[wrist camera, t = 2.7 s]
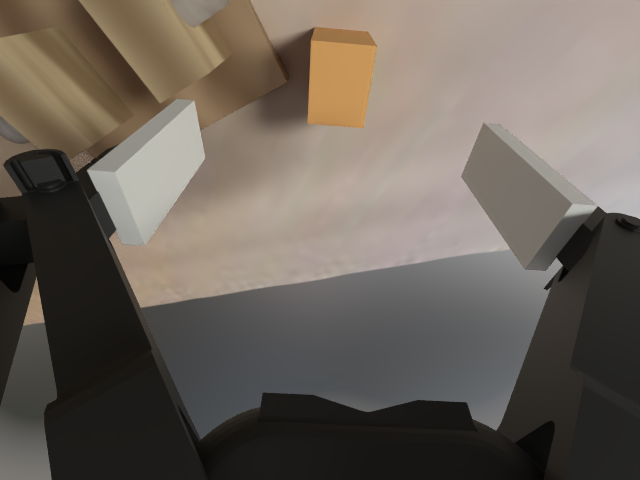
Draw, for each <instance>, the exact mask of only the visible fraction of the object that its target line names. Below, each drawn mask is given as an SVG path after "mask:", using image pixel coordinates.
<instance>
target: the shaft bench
mask: <svg viewBox="0 0 640 480" xmlns="http://www.w3.org/2000/svg"><path fill="white" fill-rule="evenodd" d="M288 79H289V78H288V76H287V74H286V72H285V70H284V68H283V66H282V64H281V62H280V60H279V58H278V56H277V54H276V52H275V50H274V48H273V46H272V44H271V42H270V40H269V38H268V36H267V34H266V32H265V30H264V28H263V26H262V24H261V22H260V20H259V18H258V16H257V14H256V12H255V10H254V8H253V6H252V4H251V2H250V0H0V135H1V136H3V137H4V138H6V139H7V140H9V141H12V142H15V143H20V144H24V143H28V142H31V143H32V144H33V145H34V146H36V147H37V148H38V149H39V150H40V149H56V150H61V151H63V152H64V153H65V154H66V155H67V157H68V159H71V158H73V157H74V156H76V155H77V154H79V153H81V152H82V151H84V150H87V151H88V152H89V153H90V154H91V155H92V156H93V157H94V158H96V157H97V158H98V156H99V155H100V154H101V153H103V152H104V151H105V150H106V149H109V148H111V147H114V146H116V145H119V144H121V143H122V142H123V141H124V140H126V139H127V138H128V137H129V136H131V135H132V134H133V133H134V132H136V131H137V130H138V129H139V128H141V127H142V126H143V125H145V124H146V123H147V122H148V121H150V120H151V119H152V118H153V117H155V116H156V115H157V114H158V113H160V112H161V111H162V110H164V109H165V108H166V107H167V106H169V105H170V104H171V103H172V102H174V101H175V100H176V99H184V100H194V101H195V106H196V112H197V117H198V122H199V127H200V130H201V129H203V128H205V127H207V126H209V125H210V124H212V123H214V122H216V121H218V120H220V119H221V118H223V117H225V116H227V115H229V114H231V113H232V112H234V111H236V110H238V109H240V108H241V107H243V106H245V105H247V104H249V103H251V102H252V101H254V100H256V99H258V98H260V97H262V96H263V95H265V94H267V93H269V92H271V91H272V90H274V89H276V88H278V87H280V86H282V85H283V84H285V83H287V82H288Z"/></svg>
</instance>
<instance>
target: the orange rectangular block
mask: <svg viewBox="0 0 640 480" xmlns="http://www.w3.org/2000/svg"><path fill="white" fill-rule="evenodd" d="M376 49H377V45H376V44H375V42H374V41H373V39H372V37H371V36H370V34H369V33H368V32H365V31H353V30H342V29H330V28H319V27H315V29H314V32H313V36H312V39H311V54H310V79H309V103H308V124H319V125H332V126H344V127H357V128H364V122H365V116H366V110H367V104H368V98H369V92H370V86H371V80H372V74H373V67H374V61H375V55H376Z"/></svg>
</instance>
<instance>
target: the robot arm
mask: <svg viewBox="0 0 640 480" xmlns="http://www.w3.org/2000/svg"><path fill="white" fill-rule="evenodd" d="M204 159H205V154H204V148H203V143H202V138H201V133H200V127H199V122H198V117H197V112H196V106H195V101H194V100H184V99H176V100H175V101H174V102H172V103H171V104H170V105H169V106H167V107H166V108H165V109H164V110H162V111H161V112H160V113H158V114H157V115H156V116H155V117H153V118H152V119H151V120H150V121H148V122H147V123H146V124H145V125H143V126H142V127H141V128H139V129H138V130H137V131H136V132H134V133H133V134H132V135H131V136H129V137H128V138H127V139H126V140H124V141H123V142H122V143H121V144H119V145H116V146H114V147H111V148H109V149H106V150H105V151H104V152H103V153H101V154H100V155H99V156H98V158H97V157H96V158H95V159H93V160H92V161H91V163H88V164H87V165H86V166H84V167H83V168H82V169H80V170H79V171H78V172H76V173H75V171H74V169H73V167H72V165H71V163H70V161H69V159H68V157H67V155H66V154H65V153H64V152H63V151H61V150H56V149H40V150H32V151H28V152H24V153H20V154H18V155H15V156H13V157H11V158H9V159H8V160H6V161H5V163H4V165H3V166H4V167H5V169H6V170H7V172H8V173H9V175H10V176H11V178H12V179H13V181H14V182H15V184H16V185H17V187H18V188H19V190H20V191H21V193H22V196H17V197H6V198H0V405H1V401H2V398H3V394H4V390H5V387H6V383H7V380H8V376H9V372H10V369H11V365H12V362H13V358H14V355H15V351H16V347H17V344H18V340H19V337H20V333H21V330H22V326H23V323H24V319H25V316H26V312H27V308H28V305H29V301H30V298H31V294H32V291H33V287H34V283H35V280H36V276H37V281H38V287H39V292H40V298H41V304H42V309H43V315H44V321H45V326H46V332H47V338H48V343H49V349H50V354H51V360H52V366H53V371H54V377H55V383H56V388H57V399H56V400H55V401H53V402H51V403H49V404H47V406H46V409H45V412H44V424H45V425H44V426H45V433H46V440H47V447H48V455H49V462H50V469H51V477H52V480H640V219H638V218H636V217H632V216H628V215H625V214H621V213H606V212H604V211H603V210H602V209H601V208H600V207H598V205H597V204H595V203H594V202H593V201H592V200H591V199H589V198H588V197H587V196H586V195H585V194H583V193H582V192H581V191H580V190H579V189H577V188H576V187H575V186H574V185H573V184H571V183H570V182H569V181H568V180H567V179H565V178H564V177H563V176H562V175H561V174H559V173H558V172H557V171H556V170H555V169H553V168H552V167H551V166H550V165H549V164H547V163H546V162H545V161H544V160H543V159H541V158H540V157H539V156H538V155H537V154H535V153H534V152H533V151H532V150H531V149H529V148H528V147H527V146H526V145H525V144H523V143H522V142H521V141H520V140H519V139H517V138H516V137H515V136H514V135H513V134H511V133H510V132H509V131H508V130H507V129H505V128H504V127H503V126H502V125H501V124H494V123H483V125H482V128H481V130H480V133H479V135H478V137H477V140H476V142H475V145H474V147H473V149H472V152H471V154H470V157H469V159H468V161H467V164H466V166H465V169H464V171H463V173H462V176H461V177H462V178H463V180H464V181H465V183H466V184H467V186H468V187H469V189H470V190H471V191H472V193H473V194H474V196H475V197H476V199H477V200H478V202H479V203H480V205H481V206H482V208H483V209H484V211H485V212H486V213H487V215H488V216H489V218H490V219H491V221H492V222H493V224H494V225H495V227H496V228H497V230H498V231H499V233H500V234H501V235H502V237H503V238H504V240H505V241H506V243H507V244H508V246H509V247H510V249H511V250H512V252H513V253H514V255H515V256H516V257H517V259H518V260H519V262H520V263H521V265H522V266H523V268H524V269H526V270H542V271H546V270H547V269H548V267H549V266H550V265H551V264H552V262H553V261H554V260H555V259H556V257H557V258H558V260H559V261H560V262H561V263H562V265H563V266H562V268H561V269H560V270H559V271H558V272H557V273H556V275H555V276H554V277H553V278H552V279H551V280H550V282H549V283H548V284H547V285H546V286H545V288H544V289H546V290H548V289H549V288H551V289H550V292H549V295H548V297H547V300H546V303H545V305H544V308H543V311H542V313H541V316H540V319H539V322H538V324H537V327H536V330H535V332H534V335H533V338H532V341H531V343H530V346H529V349H528V352H527V354H526V357H525V360H524V362H523V365H522V368H521V371H520V373H519V376H518V379H517V381H516V384H515V387H514V390H513V392H512V395H511V398H510V401H509V403H508V406H507V409H506V411H505V414H504V417H503V419H502V422H501V424H500V426H499V427H498V429H497V430H496V431H495V430H493V429H492V428H490V427H489V426H487V425H484V424H482V423H480V422H478V421H476V420H473V419H472V417H471V414H470V411H469V408H468V405H467V403H466V402H445V401H425V400H417V401H412V402H408V403H404V404H400V405H396V406H393V407H388V408H385V409H381V410H377V411H373V412H364V411H360V410H357V409H354V408H351V407H348V406H345V405H342V404H339V403H336V402H332V401H330V400H327V399H324V398H321V397H318V396H315V395H301V394H280V393H263V395H262V402H261V407H259V408H255V409H251V410H248V411H246V412H243V413H240V414H238V415H236V416H234V417H232V418H230V419H228V420H226V421H225V422H223V423H222V424H220V425H219V426H217V427H216V428H215V429H213V430H212V431H211V432H210V433H208V434H207V435H206V436H205V437H204V438H203V439H200V437H199V434H198V432H197V430H196V428H195V426H194V424H193V422H192V420H191V418H190V416H189V414H188V412H187V410H186V408H185V406H184V403H183V401H182V399H181V397H180V395H179V392H178V390H177V388H176V386H175V383H174V381H173V379H172V377H171V374H170V372H169V370H168V368H167V366H166V363H165V361H164V359H163V357H162V354H161V352H160V350H159V348H158V346H157V344H156V341H155V339H154V337H153V334H152V332H151V330H150V328H149V326H148V323H147V321H146V319H145V317H144V315H143V312H142V310H141V308H140V306H139V303H138V301H137V299H136V297H135V295H134V292H133V290H132V288H131V286H130V283H129V281H128V279H127V277H126V275H125V272H124V270H123V268H122V266H121V263H120V261H119V259H118V257H117V255H116V252H115V250H114V248H113V246H112V244H111V242H110V240H109V238H110V237H111V235H112V234H113V233H114V232H115V231H116V232H117V234H118V236H119V238H120V241H121V243H122V244H127V245H143V246H145V245H146V244H147V242H148V241H149V240H150V238H151V237H152V235H153V234H154V232H155V231H156V229H157V228H158V226H159V225H160V223H161V222H162V221H163V219H164V218H165V216H166V215H167V213H168V212H169V210H170V209H171V207H172V206H173V205H174V203H175V202H176V200H177V199H178V197H179V196H180V194H181V193H182V191H183V190H184V188H185V187H186V186H187V184H188V183H189V181H190V180H191V178H192V177H193V175H194V174H195V172H196V171H197V169H198V168H199V167H200V165H201V164H202V162H203V161H204Z"/></svg>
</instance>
